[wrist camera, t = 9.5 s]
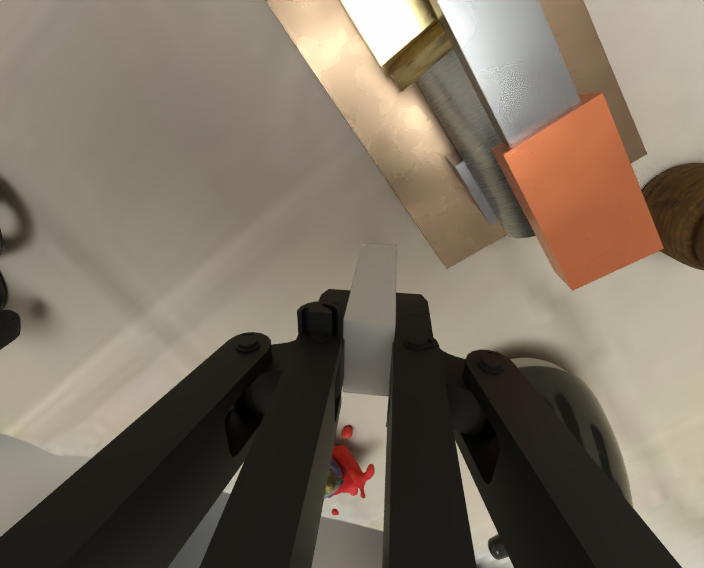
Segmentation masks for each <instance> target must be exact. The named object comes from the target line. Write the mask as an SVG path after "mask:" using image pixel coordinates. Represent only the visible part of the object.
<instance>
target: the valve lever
mask: <svg viewBox="0 0 704 568" xmlns="http://www.w3.org/2000/svg"><path fill="white" fill-rule="evenodd" d="M429 1H430V3H431V5H432V7H433V9H434V11H435V13H436V15H437V17H438V19H439V21H440V23H441V25H442V27H443V29H444V31H445V33H446V35H447V37H448V39H449V41H450V43H451V45H452V47H453V49H454V51H455V53H456V55H457V57H458V59H459V61H460V63H461V65H462V67H463V69H464V71H465V72H466V74H467V76H468V78H469V80H470V82H471V84H472V86H473V88H474V90H475V92H476V94H477V96H478V98H479V100H480V102H481V104H482V106H483V108H484V110H485V112H486V114H487V116H488V118H489V120H490V122H491V124H492V126H493V128H494V130H495V132H496V134H497V136H498V138H499V140H500V142H501V143H500V144H498V145H497V146H495V147H493V148H492V149H491V150H492V152H493V154H494V156H495V158H496V160H497V162H498V164H499V165H500V167H501V169H502V171H503V173H504V175H505V177H506V179H507V181H508V183H509V185H510V187H511V189H512V191H513V192H514V194H515V196H516V198H517V200H518V202H519V204H520V206H521V208H522V210H523V212H524V214H525V216H526V218H527V219H528V221H529V223H530V225H531V227H532V229H533V231H534V233H535V235H536V237H537V239H538V241H539V243H540V245H541V246H542V248H543V250H544V252H545V254H546V256H547V258H548V260H549V262H550V264H551V266H552V268H553V270H554V272H555V273H556V274H557V275H558V276H559V277H560V278H561V279H562V280H563V281H564V282H565V283H566V284H567V285H568V286H569V287H570V289H571V290H572V291H573V290H575V289H577V288H579V287H582V286H584V285H586V284H588V283H590V282H592V281H595V280H597V279H599V278H601V277H603V276H605V275H608V274H610V273H612V272H614V271H616V270H618V269H621V268H623V267H625V266H627V265H629V264H631V263H634V262H636V261H638V260H640V259H642V258H644V257H647V256H649V255H651V254H653V253H655V252H657V251H660V250H662V249H664V247H663V245H662V242H661V240H660V237H659V235H658V232H657V230H656V227H655V224H654V222H653V219H652V217H651V214H650V212H649V209H648V207H647V204H646V202H645V199H644V196H643V194H642V191H641V189H640V186H639V184H638V181H637V179H636V176H635V174H634V171H633V168H632V166H631V163H630V161H629V158H628V156H627V153H626V151H625V148H624V146H623V143H622V140H621V138H620V135H619V133H618V130H617V128H616V125H615V123H614V120H613V118H612V115H611V112H610V110H609V107H608V105H607V102H606V100H605V97H604V95H603V93H591V94H577V91H576V89H575V87H574V84H573V82H572V79H571V77H570V75H569V72H568V70H567V67H566V65H565V63H564V60H563V58H562V55H561V53H560V50H559V48H558V46H557V43H556V41H555V38H554V36H553V34H552V31H551V29H550V26H549V24H548V22H547V19H546V17H545V14H544V12H543V10H542V7H541V5H540V2H539V0H429Z"/></svg>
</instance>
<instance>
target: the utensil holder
mask: <svg viewBox="0 0 704 568" xmlns="http://www.w3.org/2000/svg"><path fill="white" fill-rule="evenodd" d="M642 194H643V196H644V199H645V202H646V204H647V207H648V209H649V212H650V214H651V217H652V219H653V222H654V224H655V227H656V230H657V232H658V235H659V237H660V240H661V242H662V245H663V247H664V249H662V250H660V251H661V252H662V253H664V254H666V255H668V256H670V257H672V258H674V259H675V260H677V261H679V262H681V263H683V264H685V265H688V266H690V267H693V268H696V269H700V270H704V163H692V164H685V165H681V166H678V167H675V168H672V169H670V170H668V171H666V172H664V173H662V174H661V175H659V176H658V177H656V178H655V179H654V180H653V181H651V182H650V183H649V184H648V185H647V186H646V188H645V189H644V190H643V191H642Z"/></svg>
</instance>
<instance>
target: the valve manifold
mask: <svg viewBox="0 0 704 568" xmlns="http://www.w3.org/2000/svg"><path fill="white" fill-rule="evenodd" d="M265 1H266V2H267V4H268V5H269V6H270V8H271V9H272V11H273V12H274V14H275V15H276V17H277V18H278V20H279V21H280V23H281V24H282V26H283V27H284V29H285V30H286V32H287V33H288V35H289V36H290V38H291V39H292V41H293V42H294V44H295V45H296V46H297V48H298V49H299V51H300V52H301V54H302V55H303V57H304V58H305V60H306V61H307V63H308V64H309V66H310V67H311V69H312V70H313V72H314V73H315V75H316V76H317V78H318V79H319V81H320V82H321V84H322V85H323V86H324V88H325V89H326V91H327V92H328V94H329V95H330V97H331V98H332V100H333V101H334V103H335V104H336V106H337V107H338V109H339V110H340V112H341V113H342V115H343V116H344V118H345V119H346V121H347V122H348V123H349V125H350V126H351V128H352V129H353V131H354V132H355V134H356V135H357V137H358V138H359V140H360V141H361V143H362V144H363V146H364V147H365V149H366V150H367V152H368V153H369V155H370V156H371V158H372V159H373V161H374V162H375V163H376V165H377V166H378V168H379V169H380V171H381V172H382V174H383V175H384V177H385V178H386V180H387V181H388V183H389V184H390V186H391V187H392V189H393V190H394V192H395V193H396V195H397V196H398V198H399V199H400V200H401V202H402V203H403V205H404V206H405V208H406V209H407V211H408V212H409V214H410V215H411V217H412V218H413V220H414V221H415V223H416V224H417V226H418V227H419V229H420V230H421V232H422V233H423V235H424V236H425V238H426V239H427V240H428V242H429V243H430V245H431V246H432V248H433V249H434V251H435V252H436V254H437V255H438V257H439V258H440V260H441V261H442V263H443V264H444V266H445V267H446V269H448V268H449V267H451V266H453V265H455V264H456V263H458V262H460V261H462V260H463V259H465V258H467V257H469V256H470V255H472V254H474V253H475V252H477V251H479V250H481V249H482V248H484V247H486V246H488V245H489V244H491V243H493V242H495V241H496V240H498V239H500V238H502V237H503V236H505V235H508V236H510V237H514V238H526V237H532V236H536V235H535V233H534V231H533V229H532V227H531V225H530V223H529V221H528V219H527V218H526V216H525V214H524V212H523V210H522V208H521V206H520V204H519V202H518V200H517V198H516V196H515V194H514V192H513V191H512V189H511V187H510V185H509V183H508V181H507V179H506V177H505V175H504V173H503V171H502V169H501V167H500V165H499V164H498V162H497V160H496V158H495V156H494V154H493V152H492V150H491V149H492V148H493V147H495V146H497V145H498V144H500V143H501V142H500V140H499V138H498V136H497V134H496V132H495V130H494V128H493V126H492V124H491V122H490V120H489V118H488V116H487V114H486V112H485V110H484V108H483V106H482V104H481V102H480V100H479V98H478V96H477V94H476V92H475V90H474V88H473V86H472V84H471V82H470V80H469V78H468V76H467V74H466V72H465V71H464V69H463V67H462V65H461V63H460V61H459V59H458V57H457V55H456V53H455V51H454V49H453V47H452V45H451V43H450V41H449V39H448V37H447V35H446V33H445V31H444V29H443V27H442V25H441V23H440V21H439V19H438V17H437V15H436V13H435V11H434V9H433V7H432V5H431V3H430V1H429V0H265ZM539 2H540V5H541V7H542V10H543V12H544V14H545V17H546V19H547V22H548V24H549V26H550V29H551V31H552V34H553V36H554V38H555V41H556V43H557V46H558V48H559V50H560V53H561V55H562V58H563V60H564V63H565V65H566V67H567V70H568V72H569V75H570V77H571V79H572V82H573V84H574V87H575V89H576V91H577V94H591V93H603V95H604V97H605V100H606V102H607V105H608V107H609V110H610V112H611V115H612V118H613V120H614V123H615V125H616V128H617V130H618V133H619V135H620V138H621V140H622V143H623V146H624V148H625V151H626V153H627V156H628V158H629V161H630V163H632V162H634V161H636V160H637V159H639V158H641V157H643V156H644V155H646V154H647V152H646V150H645V148H644V145H643V143H642V140H641V138H640V136H639V133H638V131H637V128H636V126H635V124H634V121H633V119H632V116H631V114H630V111H629V109H628V107H627V104H626V102H625V99H624V97H623V95H622V92H621V90H620V87H619V85H618V83H617V80H616V78H615V75H614V73H613V71H612V68H611V66H610V63H609V61H608V59H607V56H606V54H605V51H604V49H603V47H602V44H601V42H600V39H599V37H598V35H597V32H596V30H595V27H594V25H593V23H592V20H591V18H590V15H589V13H588V11H587V8H586V6H585V3H584V1H583V0H539Z"/></svg>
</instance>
